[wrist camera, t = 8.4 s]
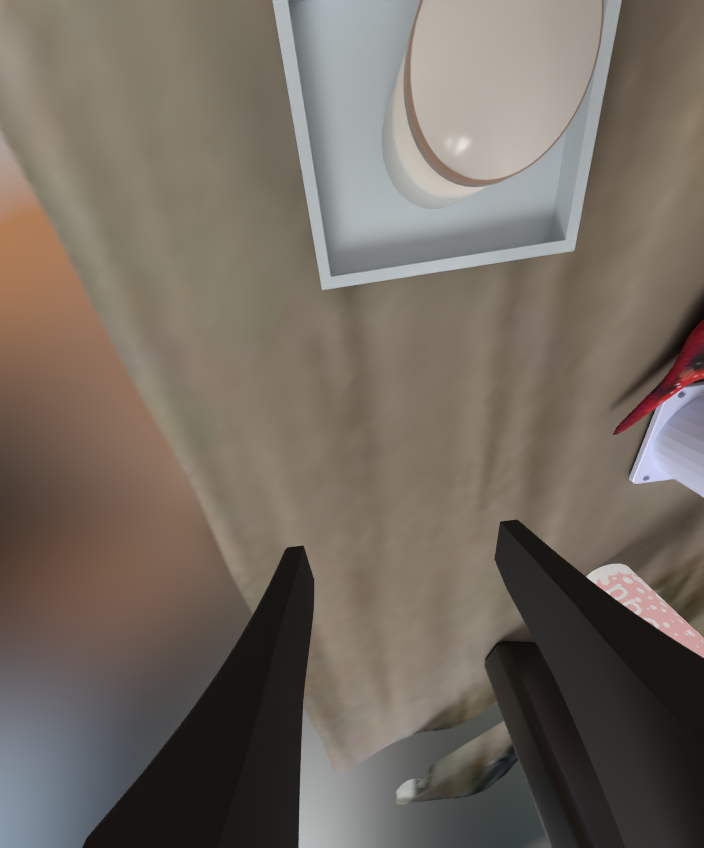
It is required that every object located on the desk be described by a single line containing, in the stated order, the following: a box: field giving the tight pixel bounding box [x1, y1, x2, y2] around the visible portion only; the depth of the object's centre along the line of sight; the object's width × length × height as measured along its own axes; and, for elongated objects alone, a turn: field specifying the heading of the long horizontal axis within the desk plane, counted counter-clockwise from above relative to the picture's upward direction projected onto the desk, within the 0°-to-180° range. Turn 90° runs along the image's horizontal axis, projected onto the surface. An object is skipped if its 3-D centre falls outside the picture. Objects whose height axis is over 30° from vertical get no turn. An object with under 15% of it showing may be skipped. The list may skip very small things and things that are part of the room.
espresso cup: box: [382, 0, 604, 209], centre depth 10 cm, size 5×5×6 cm
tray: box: [273, 0, 622, 290], centre depth 13 cm, size 12×10×2 cm
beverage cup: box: [586, 564, 704, 658], centre depth 23 cm, size 6×6×14 cm
